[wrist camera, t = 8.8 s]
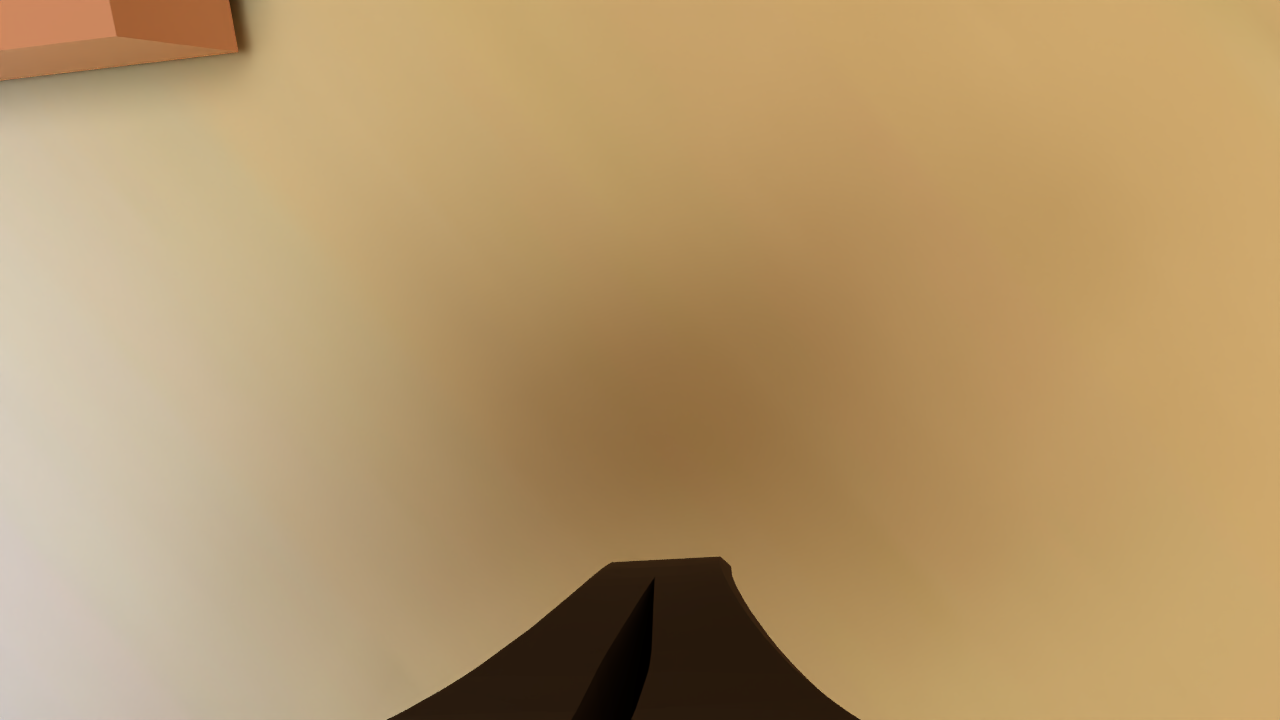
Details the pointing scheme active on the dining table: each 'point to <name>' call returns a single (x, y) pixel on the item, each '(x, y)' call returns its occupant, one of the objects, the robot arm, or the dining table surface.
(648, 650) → the robot arm
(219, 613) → the dining table surface
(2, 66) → the orange rectangular block
